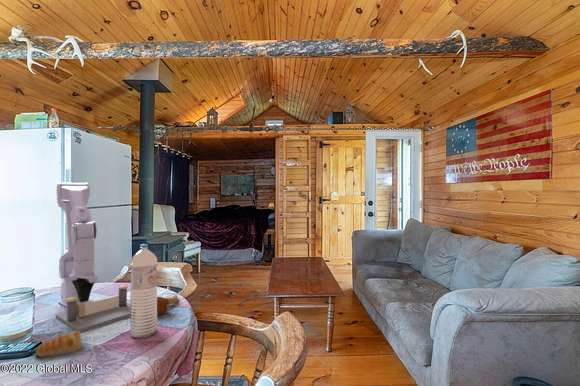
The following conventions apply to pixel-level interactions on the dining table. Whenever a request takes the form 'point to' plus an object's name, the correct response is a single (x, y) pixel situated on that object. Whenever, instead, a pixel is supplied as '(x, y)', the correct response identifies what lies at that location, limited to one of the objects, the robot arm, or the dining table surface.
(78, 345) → the pastry
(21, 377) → the dining table surface
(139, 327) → the water bottle
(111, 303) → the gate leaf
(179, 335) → the dining table surface
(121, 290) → the gate frame
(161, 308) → the smoking pipe
